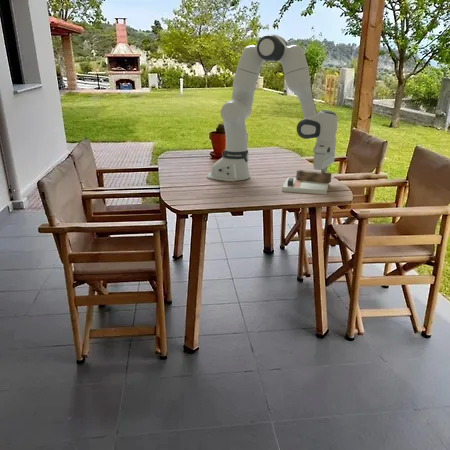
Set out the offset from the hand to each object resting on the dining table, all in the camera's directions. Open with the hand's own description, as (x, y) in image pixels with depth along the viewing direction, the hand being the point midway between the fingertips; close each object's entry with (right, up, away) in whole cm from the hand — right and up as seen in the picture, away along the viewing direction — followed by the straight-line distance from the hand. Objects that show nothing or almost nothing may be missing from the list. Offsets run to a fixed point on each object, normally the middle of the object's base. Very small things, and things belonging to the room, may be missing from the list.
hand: (323, 175), depth 195 cm
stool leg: (-5, -2, +1) cm, 5 cm away
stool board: (-9, -6, -3) cm, 11 cm away
